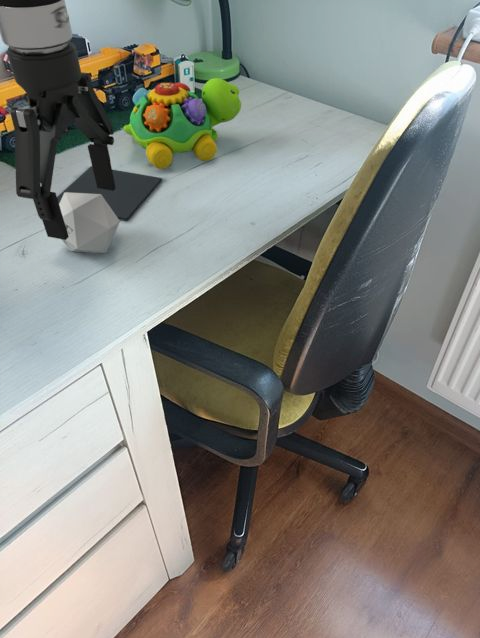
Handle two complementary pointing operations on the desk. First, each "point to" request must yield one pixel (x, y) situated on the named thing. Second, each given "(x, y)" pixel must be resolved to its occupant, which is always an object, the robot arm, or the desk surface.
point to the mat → (117, 190)
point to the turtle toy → (181, 119)
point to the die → (88, 222)
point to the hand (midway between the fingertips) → (84, 211)
